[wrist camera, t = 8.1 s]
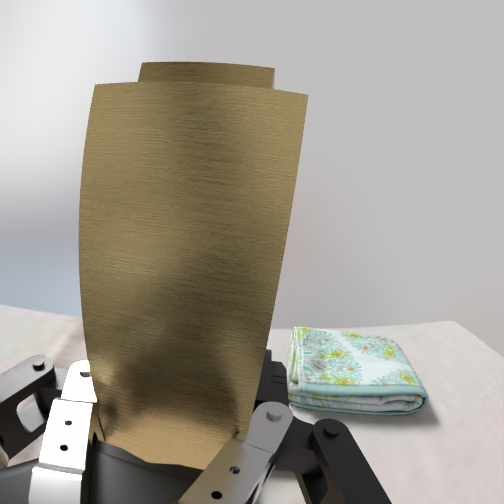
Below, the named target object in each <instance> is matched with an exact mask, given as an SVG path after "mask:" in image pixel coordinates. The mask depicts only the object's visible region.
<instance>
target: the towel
mask: <svg viewBox="0 0 504 504" xmlns="http://www.w3.org/2000/svg"><path fill="white" fill-rule="evenodd" d="M287 386H288V398H289V399H290V400H292V402H290V403H291V404H292V405H293V406H297V407H302V408H307V409H313V410H322V411H331V412H344V413H355V414H368V415H404V414H410V413H413V412H416V411H419V410H421V409H422V408H423V407H425V406H426V404H427V403H428V395H427V393H426V390H425V389H424V387H423V385H422V383H421V381H420V380H419V378H418V376H417V375H416V373H415V371H414V370H413V368H412V366H411V364H410V362H409V361H408V359H407V357H406V356H405V354H404V353H403V351H402V350H401V348H400V347H399V345H398V344H397V343H396V342H394V341H393V340H390V339H388V338H384V337H378V336H370V335H359V334H353V333H347V332H340V331H332V330H323V329H315V328H307V327H294V328H293V329H292V333H291V343H290V356H289V365H288V370H287Z"/></svg>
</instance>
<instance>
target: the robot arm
mask: <svg viewBox="0 0 504 504" xmlns="http://www.w3.org/2000/svg"><path fill="white" fill-rule="evenodd" d="M32 394H33V395H34V398H35V400H34V401H33V402H32V403H30V404H29V405H27V406H26V407H24V408H23V409H22V410H20V411H19V412H17V411H16V409H17V406H18V404H19V403H20V402H21V401H23V400H24V399H26V398H27V397H29V396H30V395H32ZM99 406H100V399H99V394H98V392H96V391H93V386H92V380H91V375H90V369H89V363H88V361H80V362H77V363H75V364H73V365H72V366H71V367H70V369H62V368H54V365H53V361H52V360H51V359H50V358H49V357H47V356H44V355H36V356H32V357H30V358H28V359H26V360H25V361H23V362H21V363H19V364H18V365H16V366H14V367H13V368H11V369H9V370H7V371H6V372H4V373H2V374H1V375H0V504H255V502H256V500H257V498H258V496H259V494H260V492H261V490H262V489H263V487H264V485H265V483H266V481H267V480H268V478H269V476H270V474H271V472H272V471H273V469H274V467H275V466H278V467H281V468H284V469H287V470H290V471H293V472H295V475H296V477H297V480H298V483H299V486H300V488H301V491H302V494H303V496H304V499H305V502H306V504H392V503H391V501H390V500H389V498H388V496H387V494H386V493H385V491H384V489H383V488H382V486H381V484H380V483H379V481H378V479H377V477H376V476H375V474H374V472H373V471H372V469H371V467H370V465H369V464H368V462H367V460H366V459H365V457H364V455H363V453H362V452H361V450H360V448H359V447H358V445H357V443H356V442H355V440H354V438H353V436H352V435H351V433H350V431H349V430H348V428H347V427H346V426H345V425H344V424H343V423H342V422H340V421H337V420H334V419H322V420H319V421H317V422H316V423H315V424H314V425H313V424H310V423H306V422H304V421H301V420H299V419H297V418H296V417H295V416H293V413H292V411H291V409H290V408H289V402H288V386H287V370H286V368H285V367H284V365H283V364H282V362H276V361H271V350H267V349H266V351H265V356H264V361H263V366H262V371H261V375H260V380H259V385H258V390H257V394H256V399H255V404H254V408H253V413H252V417H251V422H250V426H249V428H245V427H243V428H242V430H241V431H240V432H239V434H238V435H237V437H236V438H234V437H231V438H229V439H228V441H227V442H226V443H225V444H224V446H223V447H222V448H221V450H220V451H219V452H218V454H217V455H216V456H215V457H214V459H213V460H212V461H211V462H210V464H209V465H208V466H207V467H206V469H205V470H203V469H198V468H193V467H188V466H184V465H179V464H161V463H149V462H146V461H144V460H142V459H140V458H139V457H137V456H135V455H133V454H131V453H130V452H128V451H126V450H124V449H123V448H120V447H117V446H114V445H111V444H108V434H107V430H105V429H102V426H101V422H100V418H99ZM45 431H46V433H45V437H44V441H43V446H42V450H41V455H40V458H37V459H34V460H30V461H27V462H24V463H20V464H17V465H13V466H10V467H7V466H8V462H9V460H10V459H11V458H13V457H14V456H15V455H16V454H18V453H19V452H20V451H22V450H23V449H24V448H25V447H27V446H28V445H29V444H30V443H32V442H33V441H34V440H35V439H37V438H38V437H39V436H40V435H42V434H43V433H44V432H45Z"/></svg>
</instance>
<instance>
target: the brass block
mask: <svg viewBox="0 0 504 504" xmlns="http://www.w3.org/2000/svg"><path fill="white" fill-rule="evenodd" d="M274 71H275V69H274V68H268V67H259V66H250V65H239V64H227V63H209V62H208V63H207V62H147V63H142V65H141V70H140V74H139V79H138V82H129V83H110V84H98V85H95V88H94V92H93V97H92V103H91V108H90V114H89V120H88V126H87V133H86V140H85V147H84V156H83V166H82V176H81V189H80V207H79V275H80V293H81V306H82V317H83V327H84V335H85V343H86V350H87V357H88V363H89V369H90V375H91V380H92V386H93V391H96V392H98V394H99V399H100V406H99V418H100V422H101V426H102V429H105V430H107V434H108V444H111V445H114V446H117V447H120V448H123V449H124V450H126V451H128V452H130V453H131V454H133V455H135V456H137V457H139V458H140V459H142V460H144V461H146V462H149V463H161V464H179V465H184V466H188V467H193V468H198V469H203V470H205V469H206V467H207V466H208V465H209V464H210V462H211V461H212V460H213V459H214V457H215V456H216V455H217V454H218V452H219V451H220V450H221V448H222V447H223V446H224V444H225V443H226V442H227V441H228V439H229V438H231V437H234V438H236V437H237V435H238V434H239V432H240V431H241V430H242V428H243V427H245V428H249V426H250V422H251V417H252V413H253V408H254V404H255V399H256V394H257V390H258V385H259V380H260V375H261V371H262V366H263V361H264V356H265V351H266V346H267V341H268V336H269V331H270V326H271V320H272V315H273V310H274V305H275V299H276V294H277V289H278V283H279V278H280V272H281V267H282V261H283V255H284V250H285V244H286V238H287V232H288V226H289V220H290V214H291V208H292V202H293V196H294V189H295V183H296V176H297V170H298V163H299V156H300V150H301V143H302V136H303V129H304V123H305V115H306V108H307V100H308V95H305V94H299V93H293V92H287V91H281V90H274V73H275V72H274Z"/></svg>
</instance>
